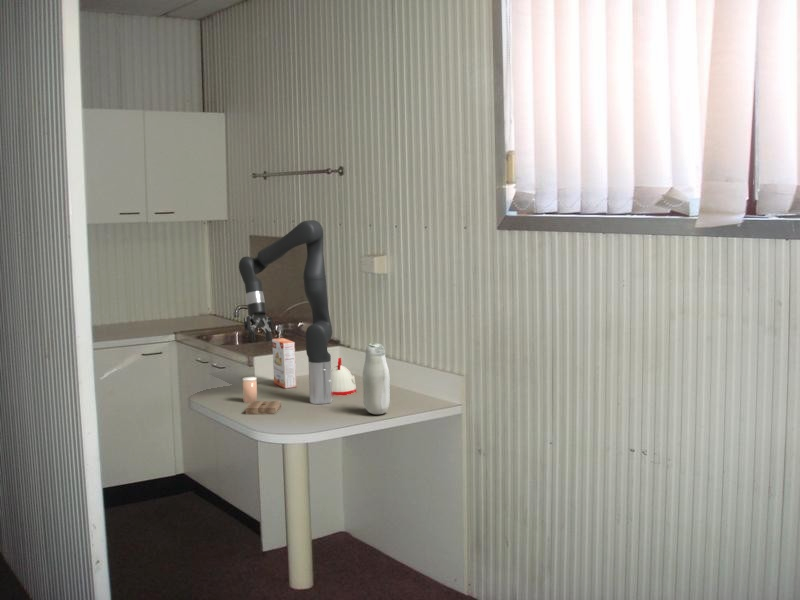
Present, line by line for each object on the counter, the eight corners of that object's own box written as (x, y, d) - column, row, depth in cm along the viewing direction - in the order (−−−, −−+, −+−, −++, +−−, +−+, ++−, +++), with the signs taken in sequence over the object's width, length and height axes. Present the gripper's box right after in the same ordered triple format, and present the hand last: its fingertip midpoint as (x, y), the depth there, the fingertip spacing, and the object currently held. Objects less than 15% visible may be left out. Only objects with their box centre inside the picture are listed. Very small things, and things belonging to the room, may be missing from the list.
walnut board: (281, 407, 376) (281, 401, 376) (275, 414, 364) (275, 407, 364) (252, 407, 377) (251, 401, 376) (245, 414, 365) (245, 408, 364)
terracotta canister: (258, 399, 390) (257, 376, 389) (255, 402, 385) (254, 379, 384) (245, 399, 391) (244, 376, 390) (242, 403, 385) (241, 379, 384)
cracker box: (273, 383, 424) (271, 338, 421) (285, 382, 427) (283, 337, 424) (284, 389, 411) (282, 342, 409) (296, 387, 414) (295, 341, 412)
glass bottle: (394, 413, 362) (393, 342, 358) (377, 418, 354) (375, 346, 351) (376, 409, 368) (375, 340, 365) (358, 414, 361) (356, 343, 357)
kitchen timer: (357, 388, 409) (356, 355, 408) (355, 395, 396) (354, 360, 394) (326, 389, 410) (325, 355, 408) (322, 395, 396) (321, 361, 394)
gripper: (248, 300, 379) (254, 339, 376) (274, 301, 390) (279, 339, 387) (237, 305, 383) (242, 343, 380) (262, 305, 394) (267, 343, 391)
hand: (261, 341), depth 384 cm, fingers open, 8 cm apart
